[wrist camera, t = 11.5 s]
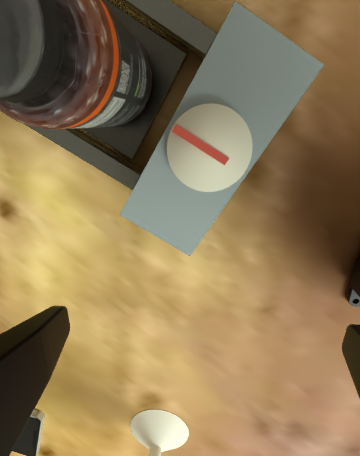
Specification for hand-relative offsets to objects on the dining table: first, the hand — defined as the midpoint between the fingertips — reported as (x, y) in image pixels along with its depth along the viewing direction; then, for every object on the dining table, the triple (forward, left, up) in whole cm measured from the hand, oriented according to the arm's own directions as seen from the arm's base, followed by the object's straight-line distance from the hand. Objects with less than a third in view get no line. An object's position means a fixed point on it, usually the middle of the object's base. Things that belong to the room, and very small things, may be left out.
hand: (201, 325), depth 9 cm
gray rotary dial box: (0, -5, -13) cm, 14 cm away
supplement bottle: (+7, -9, -13) cm, 17 cm away
